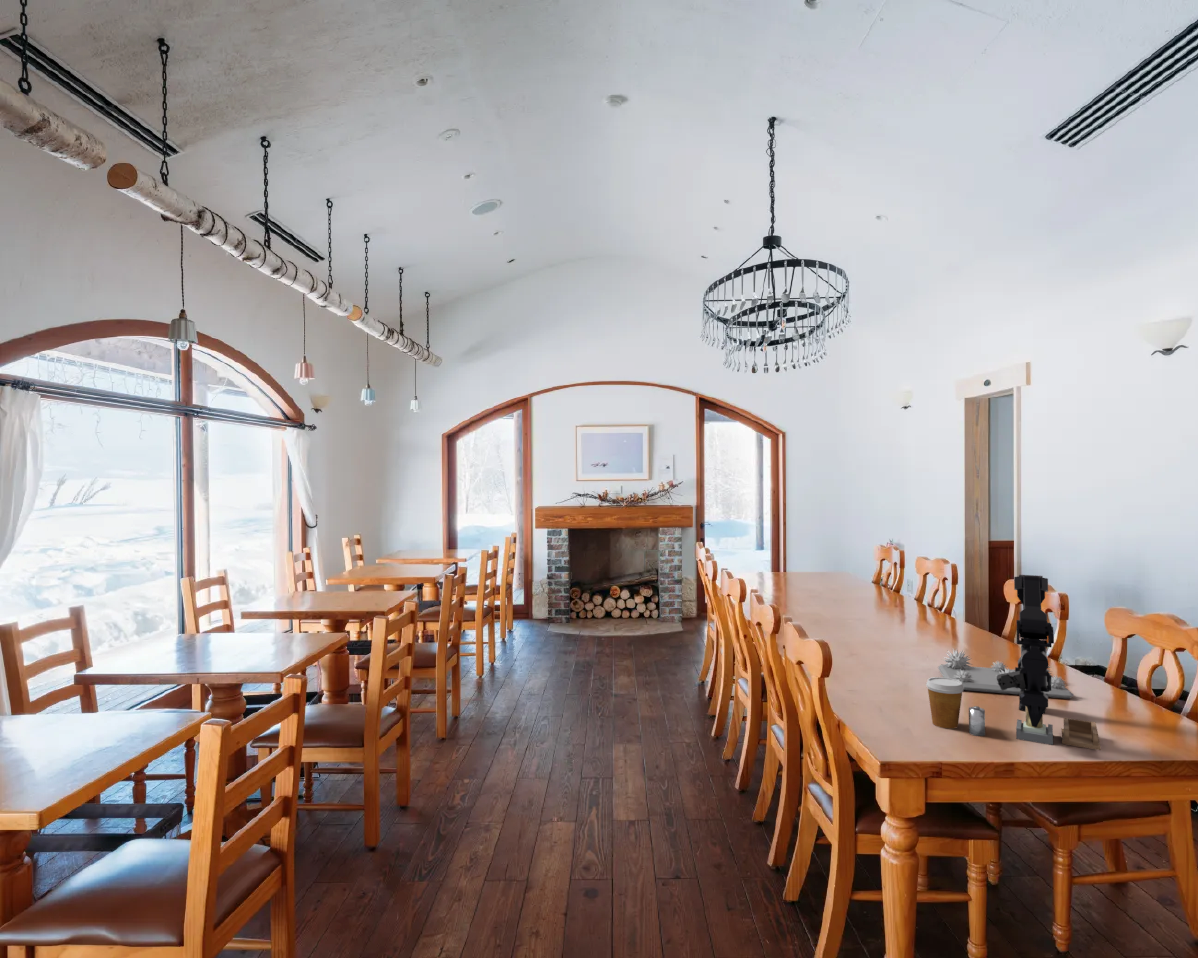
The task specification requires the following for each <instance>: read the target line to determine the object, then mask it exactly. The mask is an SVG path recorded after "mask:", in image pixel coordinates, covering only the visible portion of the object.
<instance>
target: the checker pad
mask: <svg viewBox="0 0 1198 958" xmlns="http://www.w3.org/2000/svg"><path fill="white" fill-rule="evenodd" d="M1022 723H1023V731H1029V732H1036V733H1042V734H1046V727H1047V725H1046V723H1045V724H1044V723H1043V727H1042V728H1033V727H1029V726H1027V725H1026V720H1024V721H1023V722H1022Z"/></svg>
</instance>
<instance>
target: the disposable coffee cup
mask: <svg viewBox="0 0 1198 958" xmlns="http://www.w3.org/2000/svg"><path fill="white" fill-rule="evenodd" d="M926 681H927V682H925V686H926V688H927V693H928V699H929V701H928V702H929V706H930V713H931V714H930V715H931V720H932V724H933V725H934V726H936V727H938V728H943V729H950V730H951V729H956V728H958V727H959V720H960V714H961V713H960V712H961V706H962V704H961V703H962V697H963V692H964V691H965V690H964V687H963V685H962V682H960V681H958V680H955V679H951V678H944V677H943V676H938V677H937V676H935V677H929V678H927V680H926Z"/></svg>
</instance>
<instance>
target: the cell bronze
mask: <svg viewBox="0 0 1198 958" xmlns="http://www.w3.org/2000/svg"><path fill="white" fill-rule="evenodd" d="M1043 715H1044V714H1043ZM1043 715H1042V717H1041V719H1040V721H1039V723H1038V725H1037V727H1033V726H1032V724H1031V720H1030V716H1029V712H1028V708H1027V707H1026V711H1025V721H1026V725H1027V726H1029V727H1033V728H1042V727H1043V724H1044V723H1043V722H1044V720H1043V719H1044V716H1043Z"/></svg>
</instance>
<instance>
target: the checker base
mask: <svg viewBox="0 0 1198 958" xmlns="http://www.w3.org/2000/svg"><path fill="white" fill-rule="evenodd" d="M1022 721H1023V720H1022V719H1019V718H1018V719H1017V720H1016V728H1015V729H1016V730H1015V731H1016V732H1015V733H1016V736H1015V737H1016V739H1017V740H1020V741H1026V742H1033V743H1040V744H1046V745H1051V746H1054V737H1053V736H1054V730H1053V729H1054V727H1053V726H1054V725H1053V724H1051V723H1047V726H1046V734H1042V733H1036V732H1029V731H1023V723H1024V722H1022Z"/></svg>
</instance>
